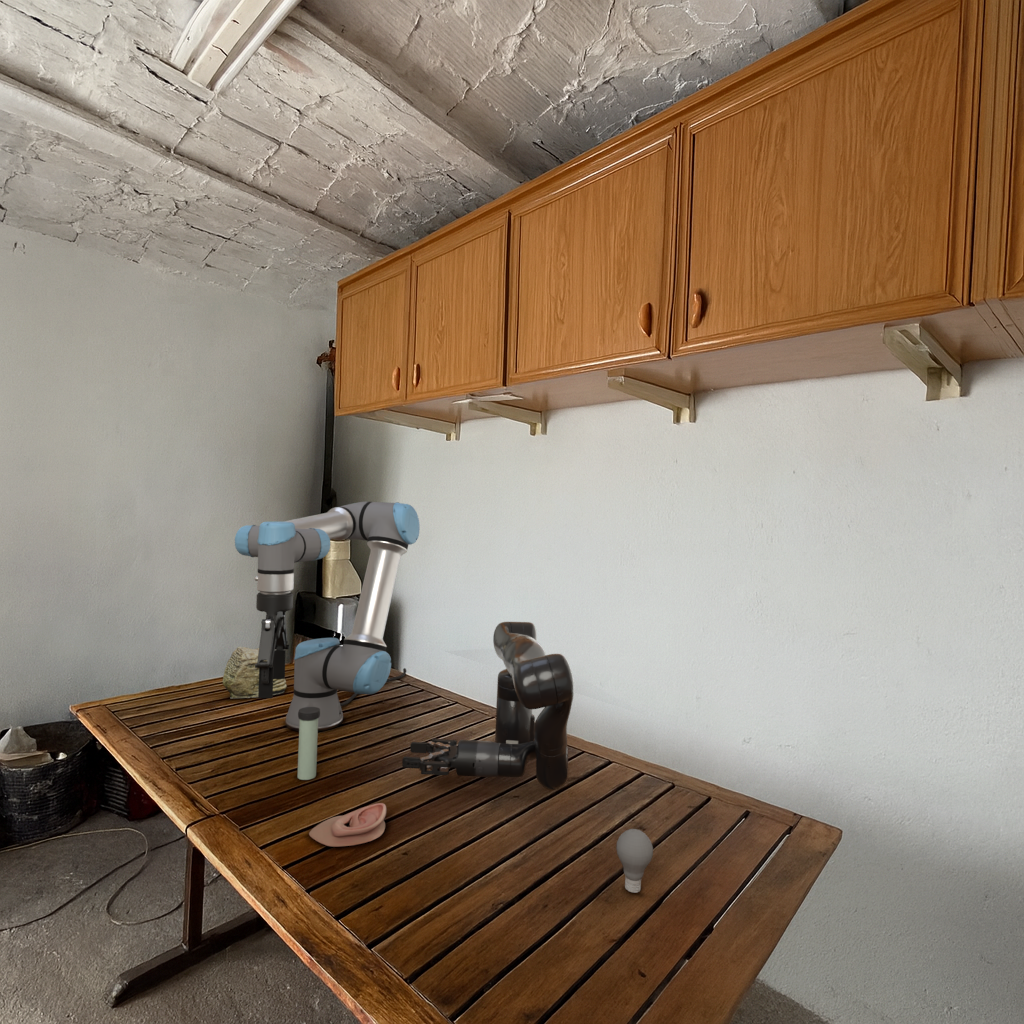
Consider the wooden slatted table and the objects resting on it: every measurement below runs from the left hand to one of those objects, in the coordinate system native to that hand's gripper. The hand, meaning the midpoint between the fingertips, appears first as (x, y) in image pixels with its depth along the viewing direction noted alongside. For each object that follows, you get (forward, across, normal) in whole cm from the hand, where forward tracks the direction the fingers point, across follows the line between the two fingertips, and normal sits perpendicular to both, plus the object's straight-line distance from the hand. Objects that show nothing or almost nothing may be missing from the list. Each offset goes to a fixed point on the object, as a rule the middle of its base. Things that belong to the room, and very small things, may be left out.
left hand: (272, 687), depth 140 cm
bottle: (+21, -2, +8) cm, 22 cm away
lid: (+6, -2, +8) cm, 10 cm away
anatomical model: (+21, +24, +19) cm, 37 cm away
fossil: (+21, -62, -17) cm, 67 cm away
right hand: (+14, +3, +30) cm, 33 cm away
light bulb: (+21, +46, +67) cm, 84 cm away
